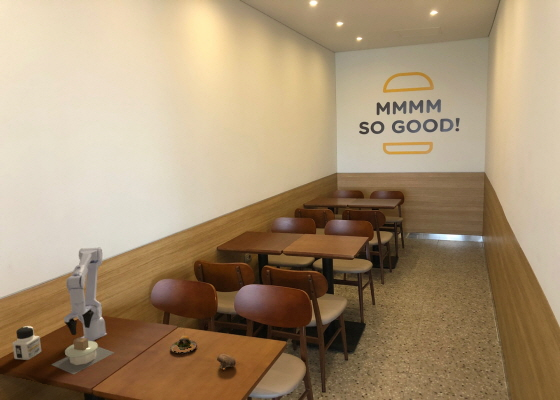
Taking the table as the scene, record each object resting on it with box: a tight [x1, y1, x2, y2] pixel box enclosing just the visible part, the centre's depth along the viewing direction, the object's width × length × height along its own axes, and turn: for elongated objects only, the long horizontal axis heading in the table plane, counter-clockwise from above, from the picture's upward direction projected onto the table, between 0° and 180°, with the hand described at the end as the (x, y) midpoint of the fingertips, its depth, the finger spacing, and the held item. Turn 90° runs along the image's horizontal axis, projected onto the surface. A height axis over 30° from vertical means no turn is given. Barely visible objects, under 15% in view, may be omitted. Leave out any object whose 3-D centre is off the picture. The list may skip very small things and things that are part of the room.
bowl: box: [70, 350, 97, 365], centre depth 189 cm, size 10×10×4 cm
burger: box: [169, 331, 198, 354], centre depth 195 cm, size 12×12×8 cm
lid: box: [64, 337, 99, 358], centre depth 188 cm, size 13×13×5 cm
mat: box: [51, 346, 115, 375], centre depth 189 cm, size 20×16×1 cm
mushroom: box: [216, 353, 237, 370], centre depth 179 cm, size 8×8×6 cm
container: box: [12, 325, 42, 361], centre depth 193 cm, size 8×8×13 cm
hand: (80, 331), depth 194 cm, fingers open, 7 cm apart
